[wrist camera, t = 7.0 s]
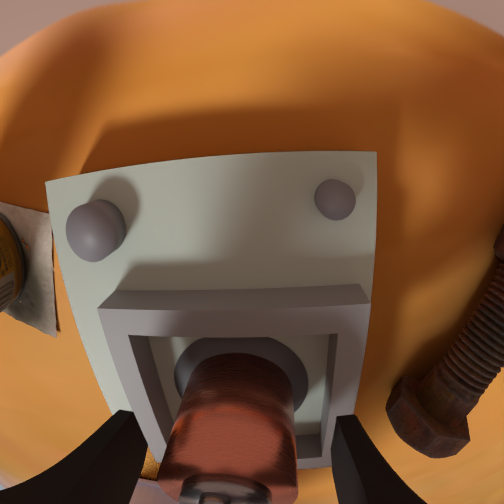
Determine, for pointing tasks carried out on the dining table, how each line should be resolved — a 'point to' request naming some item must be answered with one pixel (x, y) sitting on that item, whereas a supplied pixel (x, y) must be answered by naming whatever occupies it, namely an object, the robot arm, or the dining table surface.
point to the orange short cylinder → (233, 435)
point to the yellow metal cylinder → (27, 267)
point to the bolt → (453, 379)
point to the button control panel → (223, 278)
